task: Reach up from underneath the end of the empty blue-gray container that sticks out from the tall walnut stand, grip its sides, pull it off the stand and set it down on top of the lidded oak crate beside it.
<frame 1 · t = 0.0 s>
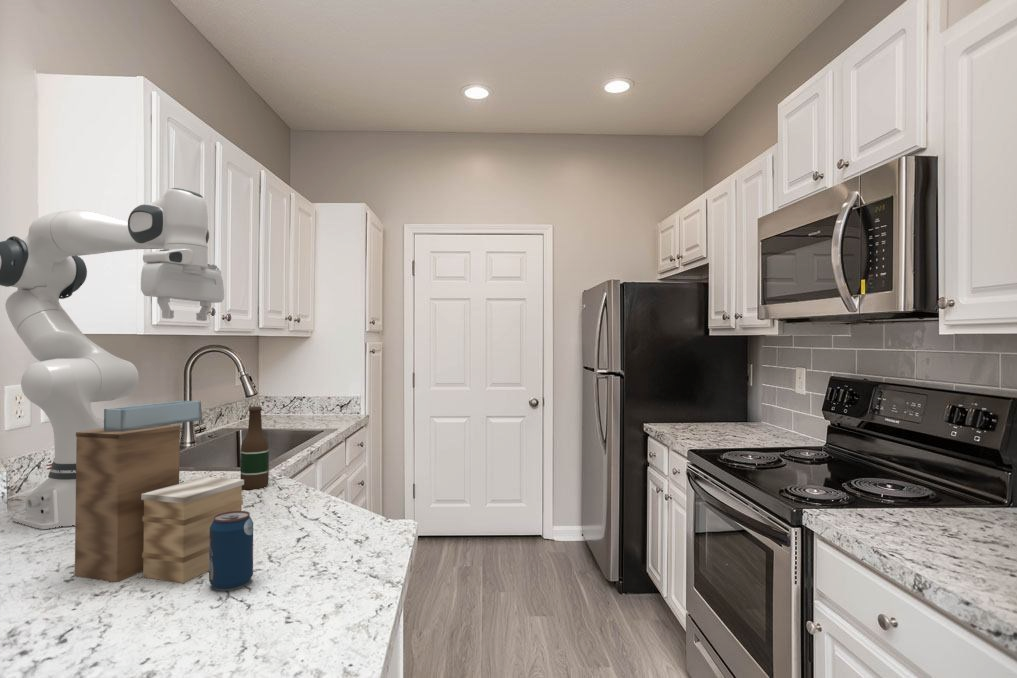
hand: (185, 319, 131), 48 cm above the countertop, tool pointing down, fingers open, 8 cm apart
walnut stand: (128, 565, 108), on the countertop
soda can: (231, 585, 100), on the countertop
blue-gray container: (155, 424, 114), point 26 cm above the countertop, touching walnut stand
oak crate: (194, 565, 108), on the countertop
beer bottle: (254, 487, 170), on the countertop
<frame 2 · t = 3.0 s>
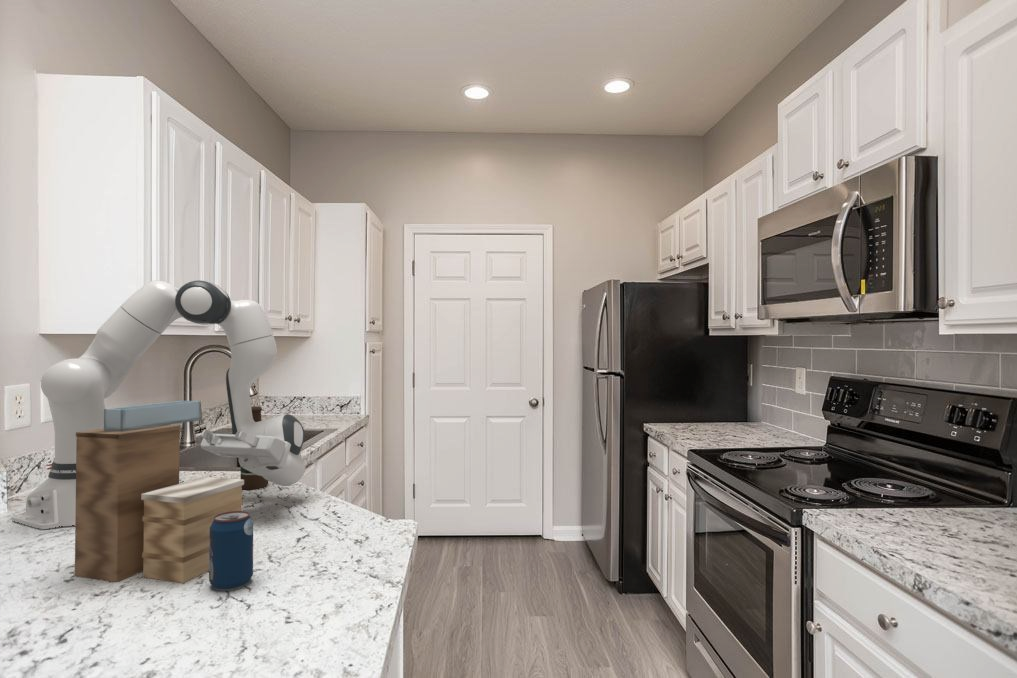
hand: (221, 433, 131), 22 cm above the countertop, tool pointing upward, fingers open, 8 cm apart
nothing on the countertop moved.
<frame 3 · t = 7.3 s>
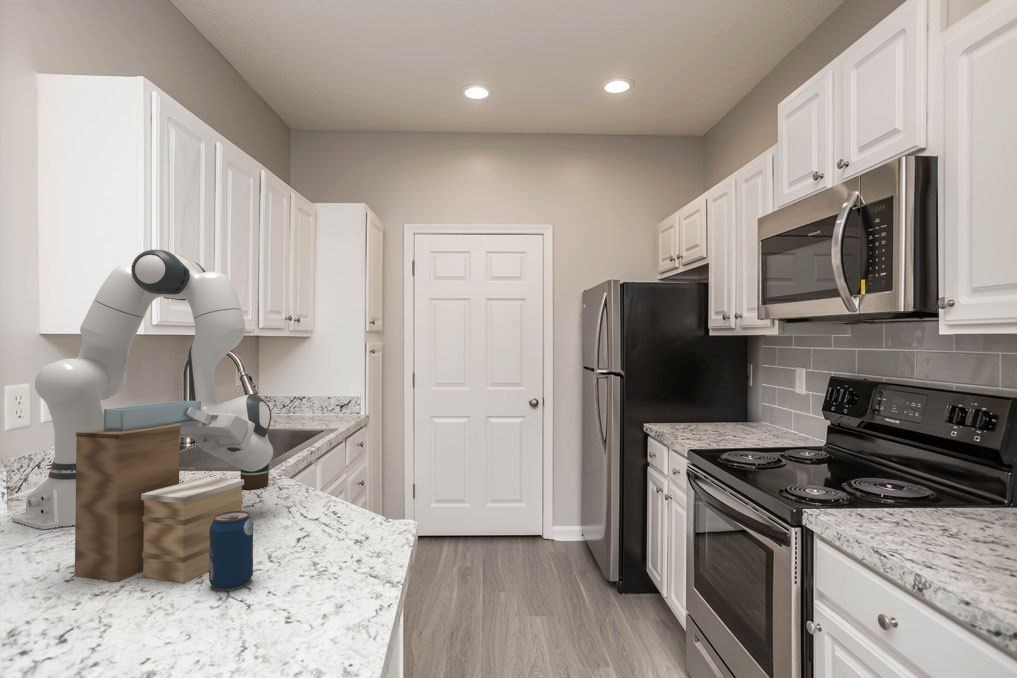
hand: (175, 410, 119), 28 cm above the countertop, tool pointing upward, fingers closed on blue-gray container, 4 cm apart
blue-gray container: (155, 424, 114), point 26 cm above the countertop, touching gripper, walnut stand
everything else where it was.
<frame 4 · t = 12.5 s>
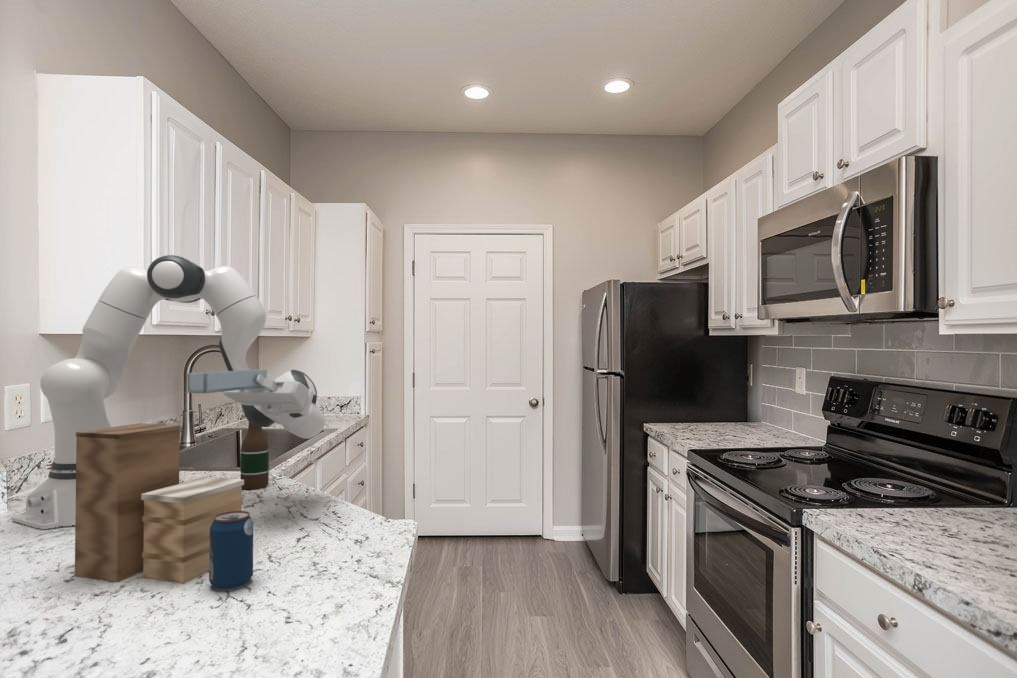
hand: (245, 377, 129), 35 cm above the countertop, tool pointing upward, fingers closed on blue-gray container, 4 cm apart
blue-gray container: (229, 389, 125), point 32 cm above the countertop, touching gripper
everything else where it was.
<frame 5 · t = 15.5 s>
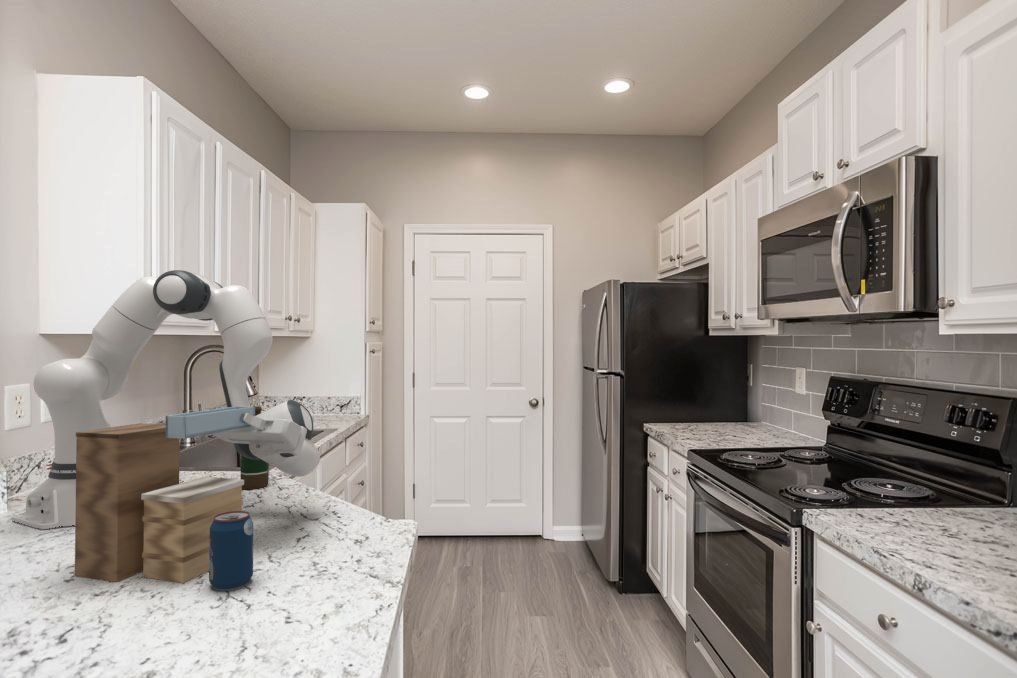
hand: (231, 416, 118), 27 cm above the countertop, tool pointing upward, fingers closed on blue-gray container, 4 cm apart
blue-gray container: (213, 431, 113), point 25 cm above the countertop, touching gripper
everything else where it was.
when the fingers open (19 cm above the countertop, at t = 18.0 s): blue-gray container drops 2 cm, resting on oak crate.
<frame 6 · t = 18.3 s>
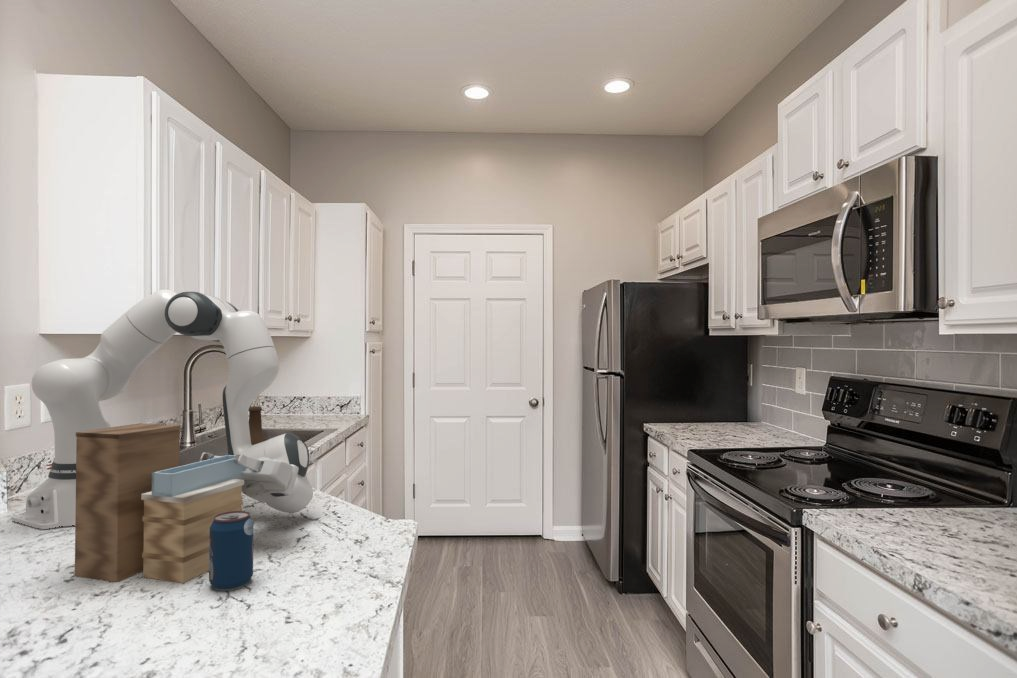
hand: (220, 457, 115), 19 cm above the countertop, tool pointing upward, fingers open, 7 cm apart
blue-gray container: (201, 484, 110), point 15 cm above the countertop, touching oak crate
everything else where it was.
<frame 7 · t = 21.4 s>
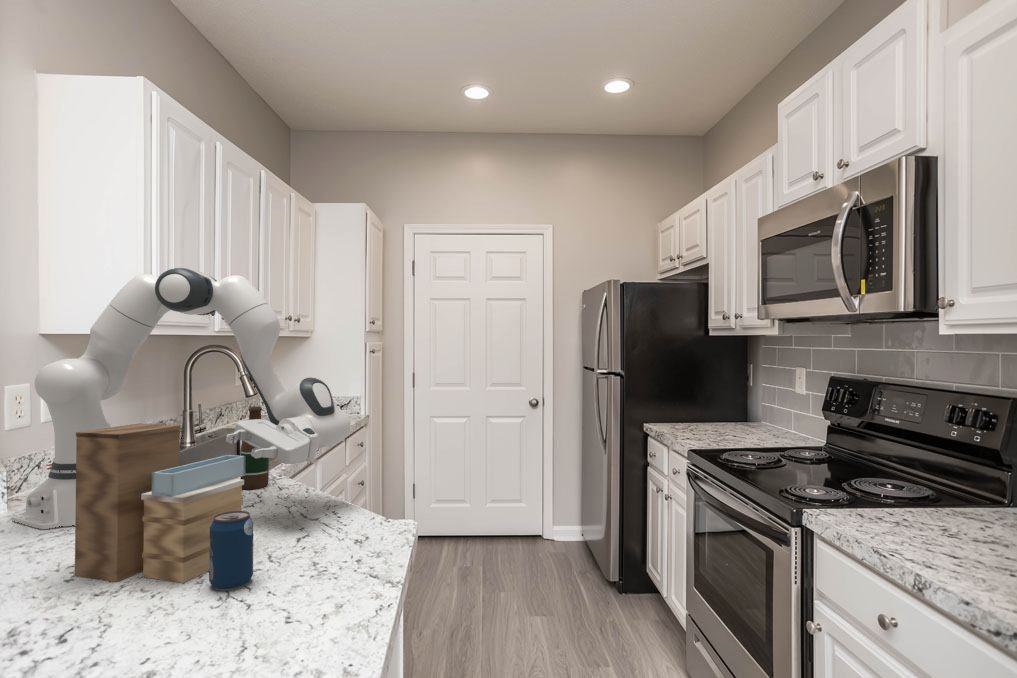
hand: (240, 446, 127), 20 cm above the countertop, tool horizontal, fingers open, 8 cm apart
nothing on the countertop moved.
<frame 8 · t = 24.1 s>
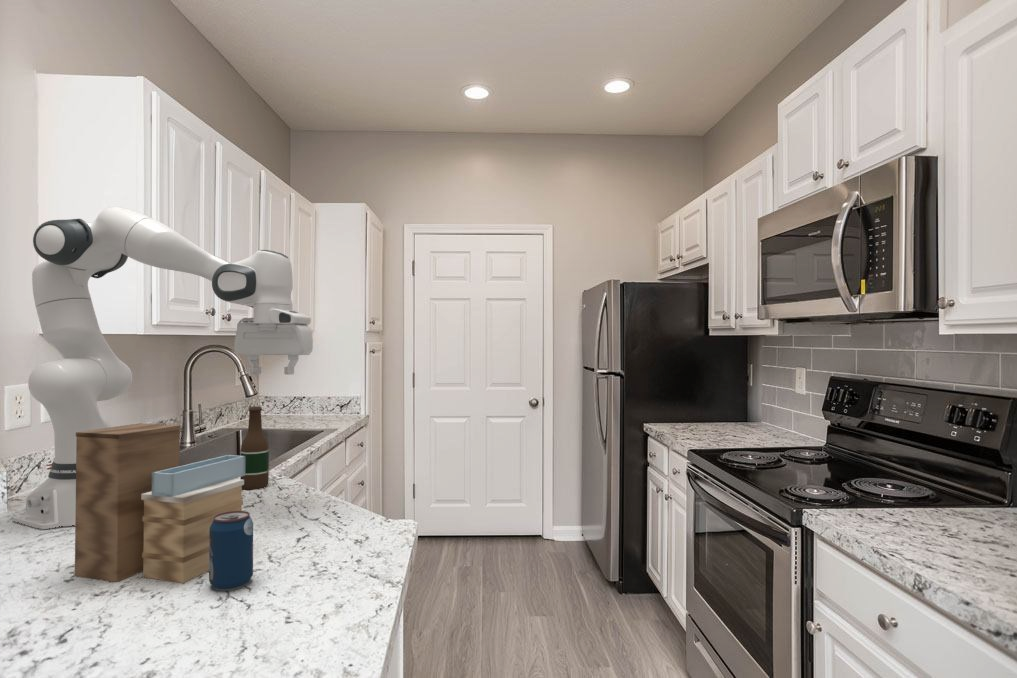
hand: (272, 374, 139), 35 cm above the countertop, tool pointing down, fingers open, 8 cm apart
nothing on the countertop moved.
at the end: blue-gray container inside the target area (0.5 cm from its centre), point 15.0 cm above the countertop; blue-gray container touching oak crate; blue-gray container tilted 0° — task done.
